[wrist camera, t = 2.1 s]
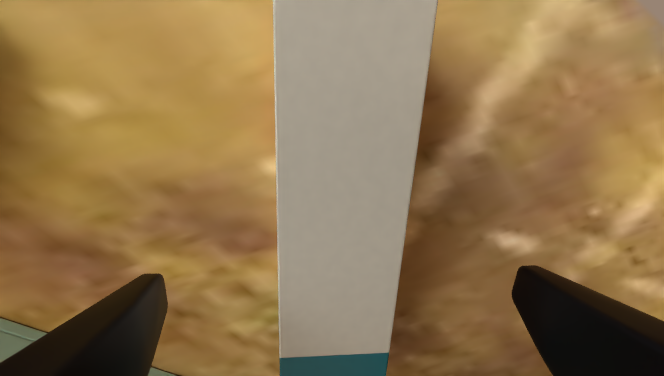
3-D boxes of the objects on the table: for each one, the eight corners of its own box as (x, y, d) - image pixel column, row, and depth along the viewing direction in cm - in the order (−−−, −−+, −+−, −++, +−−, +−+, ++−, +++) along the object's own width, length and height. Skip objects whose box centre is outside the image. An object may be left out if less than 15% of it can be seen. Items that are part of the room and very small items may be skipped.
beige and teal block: (279, 4, 11) (272, -13, 7) (396, 11, 11) (439, -2, 8) (283, 334, 16) (280, 414, 12) (363, 331, 16) (381, 407, 13)
